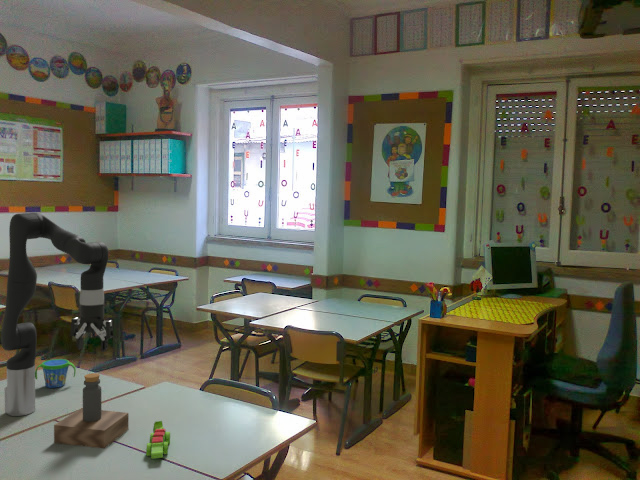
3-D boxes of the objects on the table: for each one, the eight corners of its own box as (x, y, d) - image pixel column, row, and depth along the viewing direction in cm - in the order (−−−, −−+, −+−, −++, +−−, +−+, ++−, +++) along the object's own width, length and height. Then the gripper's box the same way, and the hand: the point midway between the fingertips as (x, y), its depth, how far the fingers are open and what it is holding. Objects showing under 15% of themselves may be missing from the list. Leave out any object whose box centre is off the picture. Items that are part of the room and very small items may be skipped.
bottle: (94, 423, 182) (94, 378, 181) (79, 421, 183) (78, 377, 182) (105, 416, 188) (104, 373, 187) (89, 414, 189) (89, 371, 188)
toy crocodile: (166, 463, 169) (166, 444, 169) (143, 464, 168) (143, 445, 167) (171, 435, 188) (171, 418, 188) (151, 436, 187) (151, 419, 187)
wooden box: (54, 442, 180) (53, 424, 180) (81, 424, 195) (81, 408, 195) (104, 448, 177) (104, 430, 177) (128, 429, 192) (128, 412, 192)
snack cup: (78, 380, 240) (78, 358, 239) (72, 389, 230) (72, 365, 229) (39, 382, 237) (39, 359, 236) (31, 390, 227) (31, 366, 226)
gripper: (65, 302, 180) (65, 351, 181) (105, 305, 178) (105, 354, 179) (79, 298, 188) (79, 345, 189) (117, 301, 185) (117, 348, 186)
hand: (92, 349), depth 184 cm, fingers open, 8 cm apart
